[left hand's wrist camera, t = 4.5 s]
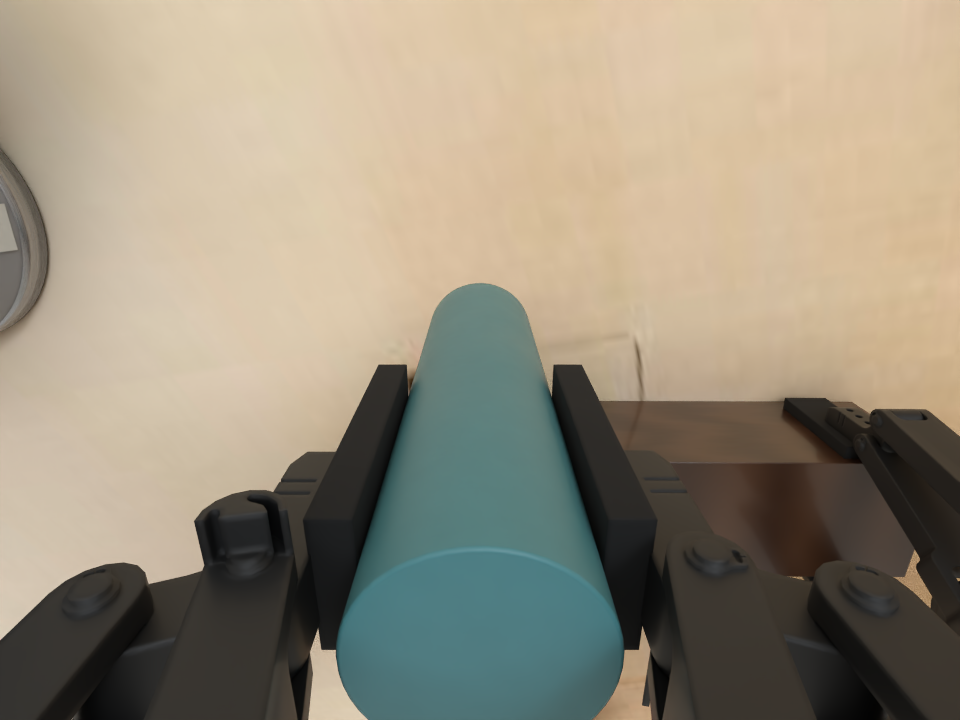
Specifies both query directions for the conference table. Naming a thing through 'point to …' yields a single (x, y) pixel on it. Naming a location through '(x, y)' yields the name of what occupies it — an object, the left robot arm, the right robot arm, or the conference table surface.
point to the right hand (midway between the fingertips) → (790, 459)
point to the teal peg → (480, 543)
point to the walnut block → (769, 483)
